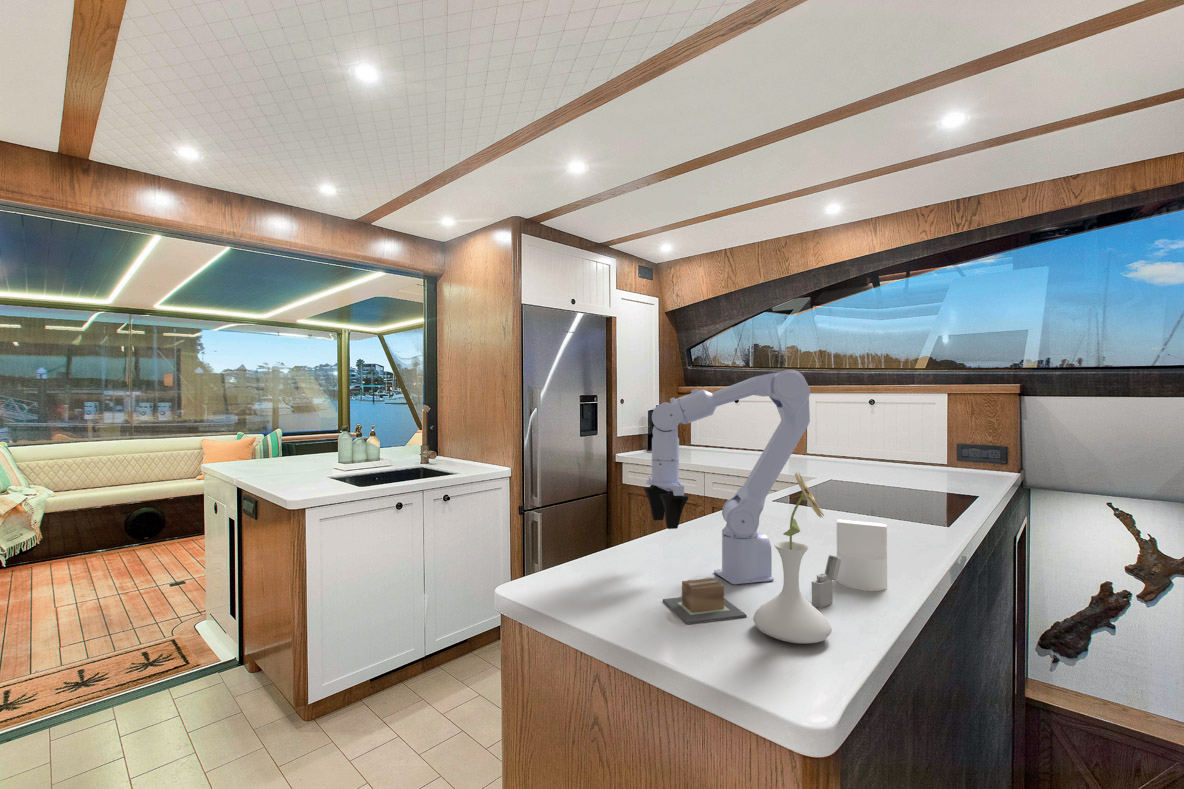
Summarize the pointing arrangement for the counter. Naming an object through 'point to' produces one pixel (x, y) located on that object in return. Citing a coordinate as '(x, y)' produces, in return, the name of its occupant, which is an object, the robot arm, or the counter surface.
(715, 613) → the mat
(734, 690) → the counter surface
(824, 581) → the lighter
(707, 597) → the cardboard box
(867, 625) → the counter surface
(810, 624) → the flower in vase
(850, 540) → the cylinder with rectangular tab
